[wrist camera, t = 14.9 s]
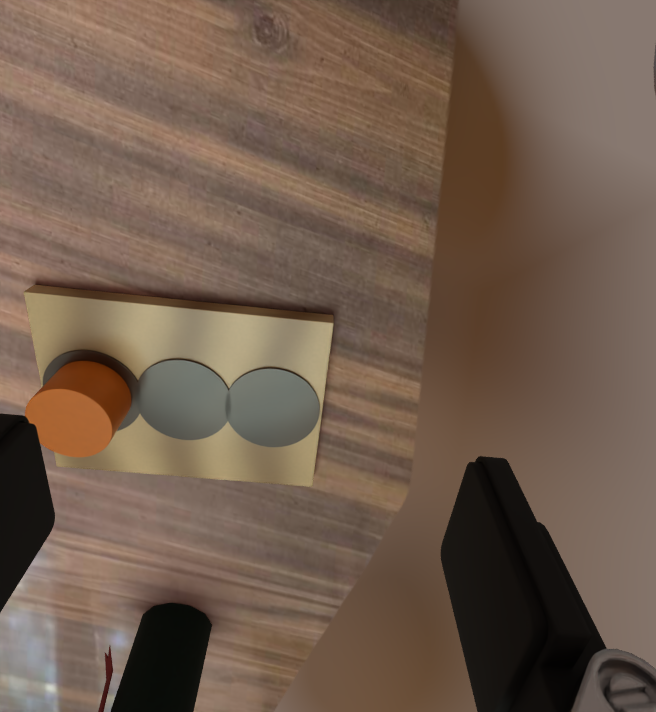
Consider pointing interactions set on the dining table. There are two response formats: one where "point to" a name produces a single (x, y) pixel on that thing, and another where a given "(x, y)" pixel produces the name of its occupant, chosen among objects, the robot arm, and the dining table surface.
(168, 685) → the wine bottle
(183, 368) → the board
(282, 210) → the dining table surface
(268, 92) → the dining table surface
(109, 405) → the cylinder
